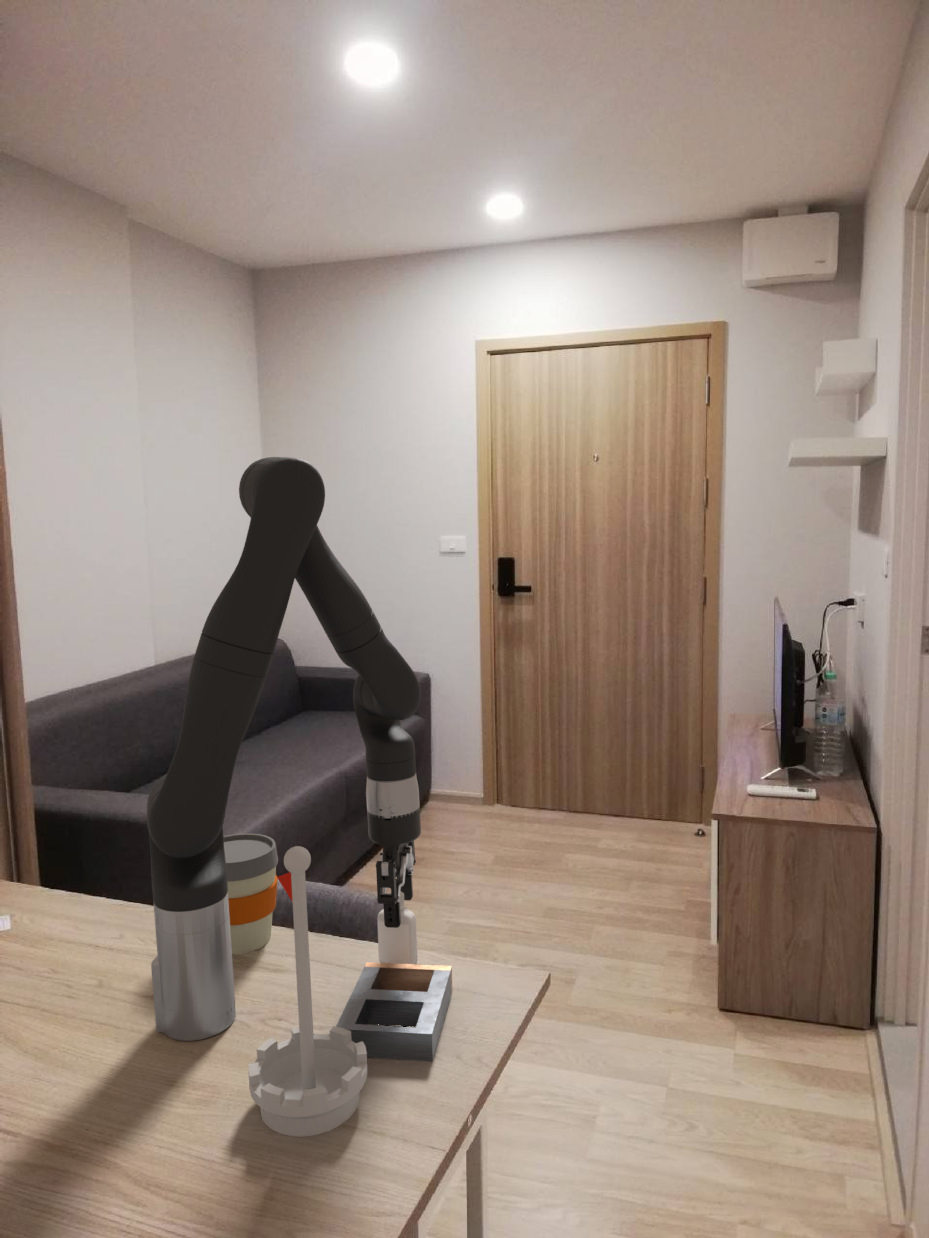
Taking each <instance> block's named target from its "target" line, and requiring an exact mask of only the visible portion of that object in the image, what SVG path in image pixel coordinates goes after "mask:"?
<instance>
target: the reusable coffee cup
mask: <svg viewBox="0 0 929 1238" xmlns="http://www.w3.org/2000/svg"><path fill="white" fill-rule="evenodd" d="M223 839H224V851H225V860H226V869H227V884H228V902H229V916H230V932H231V947H232V955H240V954H247V953H251V952H254V951H256V950H258V949H261V948H263V947H264V946H266V945H267V944H268V943H269V942H270V940H271V937H272V926H273V925H272V924H273V912H274V910H275V909H276V907H277V906H276V905H277V894H278V892H277V891H278V881H279V880H278V878H277V877H278V876H277V873H276V872H277V869H276V868H277V865H278V862H279V856H278V851H277V844H276V841H275V840H274V838H272V837H270V836H268V835H264V834H261V833H236V834H234V833H233V834H228V835H223Z"/></svg>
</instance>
